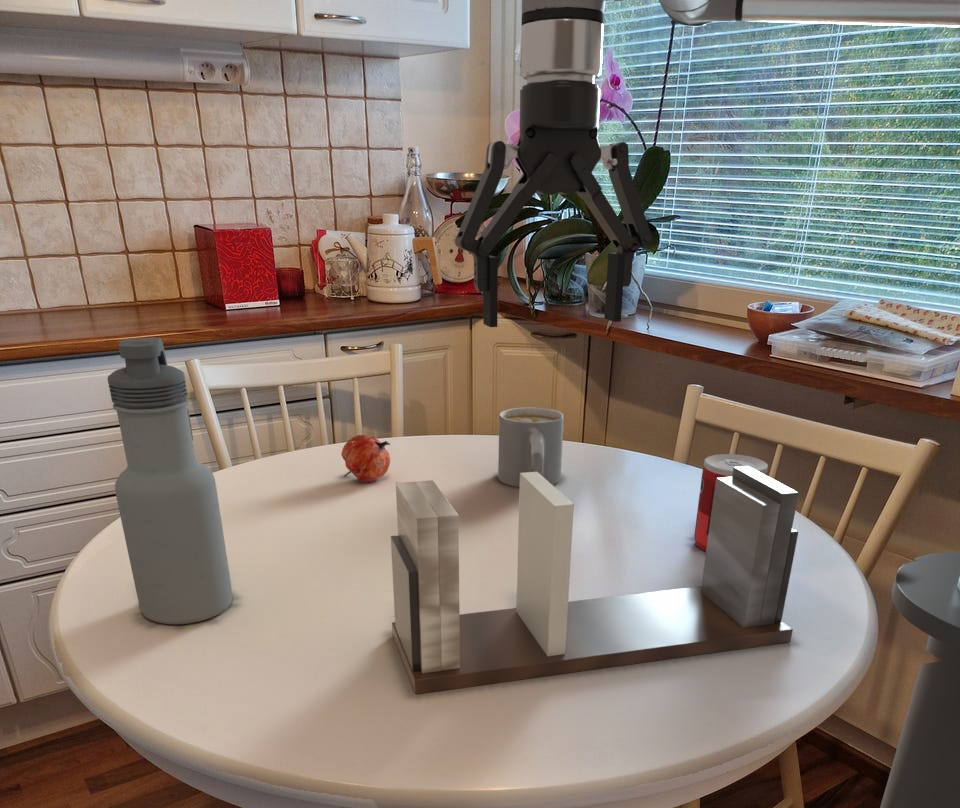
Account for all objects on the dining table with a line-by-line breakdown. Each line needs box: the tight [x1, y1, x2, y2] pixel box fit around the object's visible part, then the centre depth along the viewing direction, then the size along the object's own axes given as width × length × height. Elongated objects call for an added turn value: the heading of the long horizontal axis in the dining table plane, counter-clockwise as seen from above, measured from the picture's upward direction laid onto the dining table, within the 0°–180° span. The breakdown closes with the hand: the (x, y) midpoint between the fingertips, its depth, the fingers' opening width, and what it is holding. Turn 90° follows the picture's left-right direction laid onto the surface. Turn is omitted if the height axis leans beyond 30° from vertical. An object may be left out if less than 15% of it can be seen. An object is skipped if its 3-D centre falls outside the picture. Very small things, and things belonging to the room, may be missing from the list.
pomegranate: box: [340, 434, 391, 483], centre depth 132 cm, size 7×7×10 cm
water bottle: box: [107, 337, 234, 625], centre depth 87 cm, size 10×10×28 cm
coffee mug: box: [497, 407, 565, 488], centre depth 131 cm, size 13×10×10 cm
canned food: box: [693, 453, 769, 552], centre depth 107 cm, size 8×8×11 cm
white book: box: [515, 472, 575, 656], centre depth 81 cm, size 2×10×15 cm, turn 15°
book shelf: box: [390, 466, 799, 695], centre depth 83 cm, size 39×12×16 cm, turn 105°
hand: (552, 323), depth 89 cm, fingers open, 13 cm apart
